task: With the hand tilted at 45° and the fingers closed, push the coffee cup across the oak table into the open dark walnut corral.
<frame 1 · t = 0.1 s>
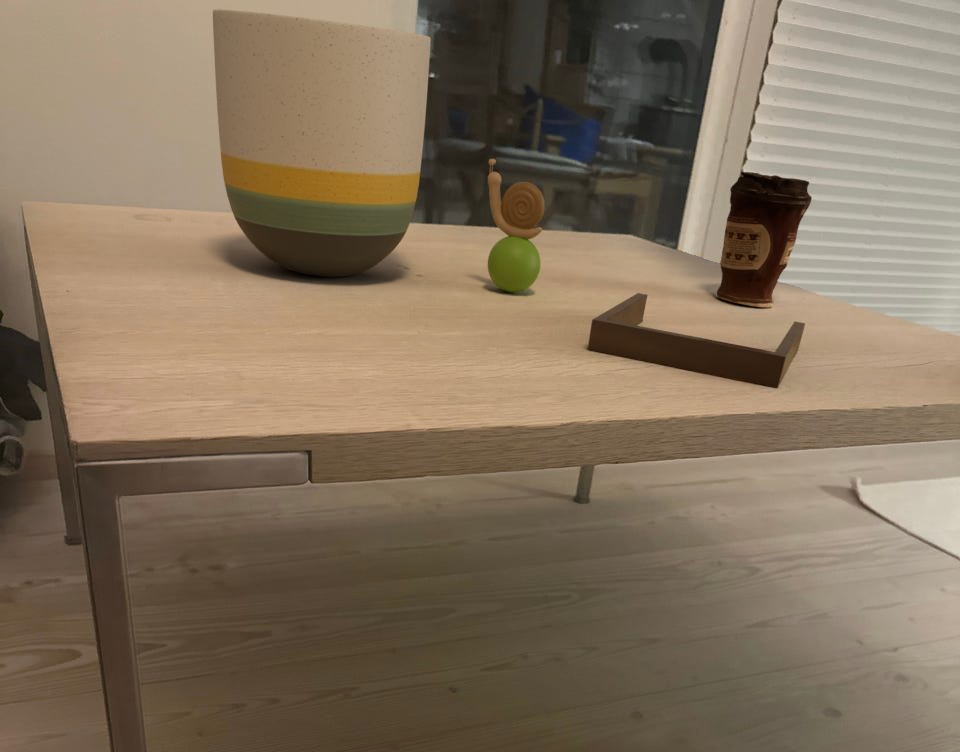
snail figurine: (506, 293, 96), on the table
corral: (698, 349, 82), on the table
planter: (321, 274, 95), on the table
coffee cup: (742, 303, 105), on the table
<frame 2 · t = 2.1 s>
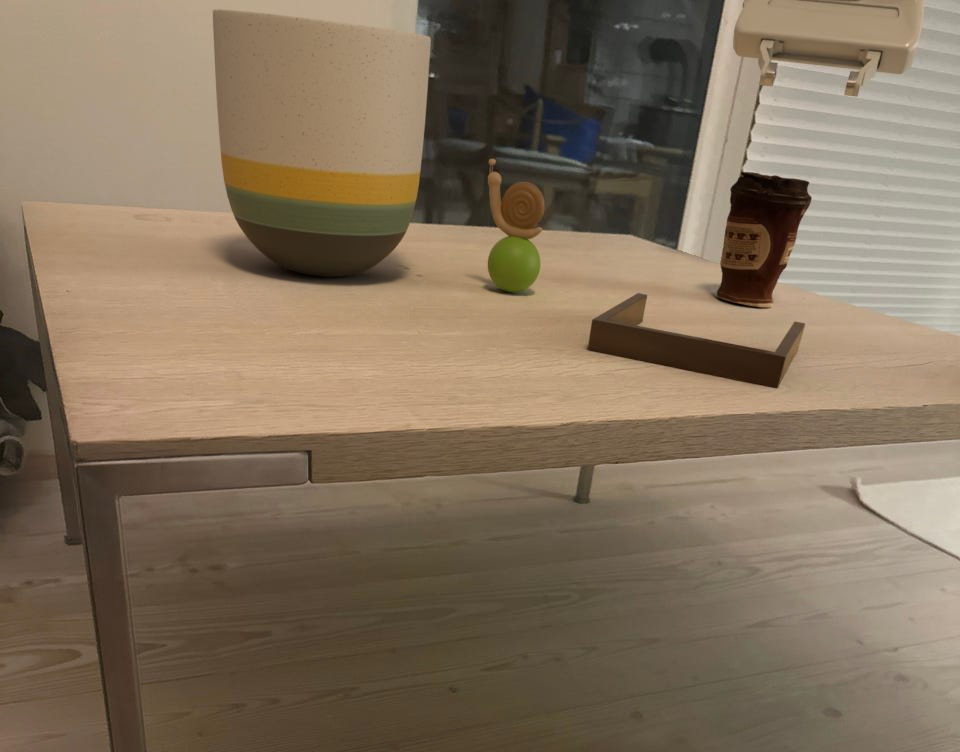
hand: (808, 86, 103), 22 cm above the table, tool tilted 45°, fingers open, 8 cm apart
nothing on the table moved.
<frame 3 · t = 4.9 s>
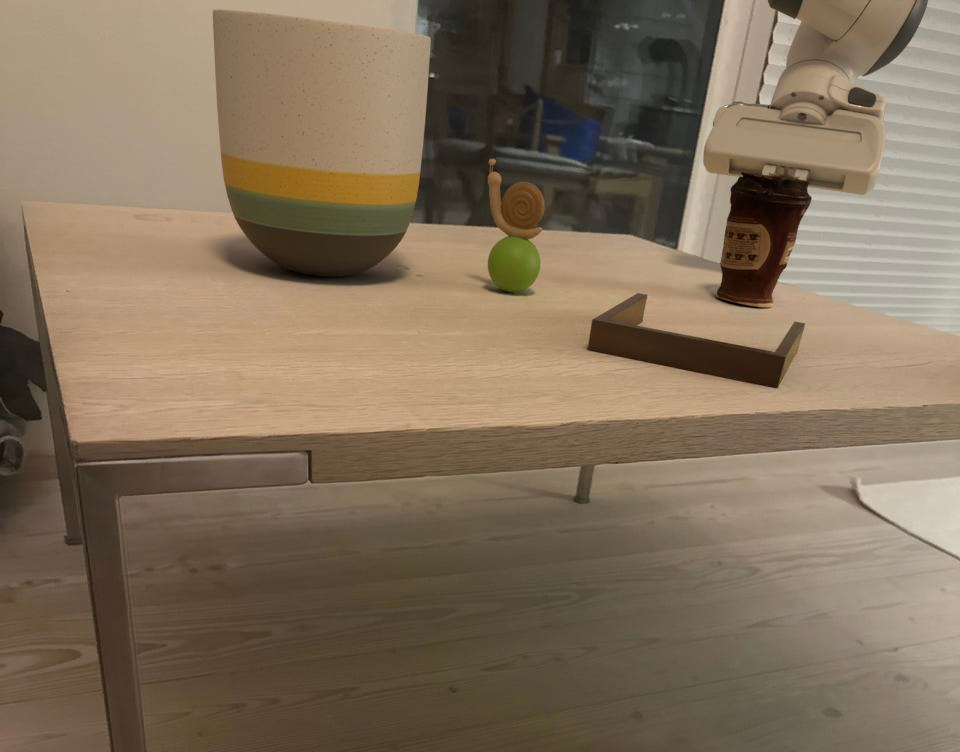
hand: (774, 206, 107), 9 cm above the table, tool tilted 45°, fingers closed
nothing on the table moved.
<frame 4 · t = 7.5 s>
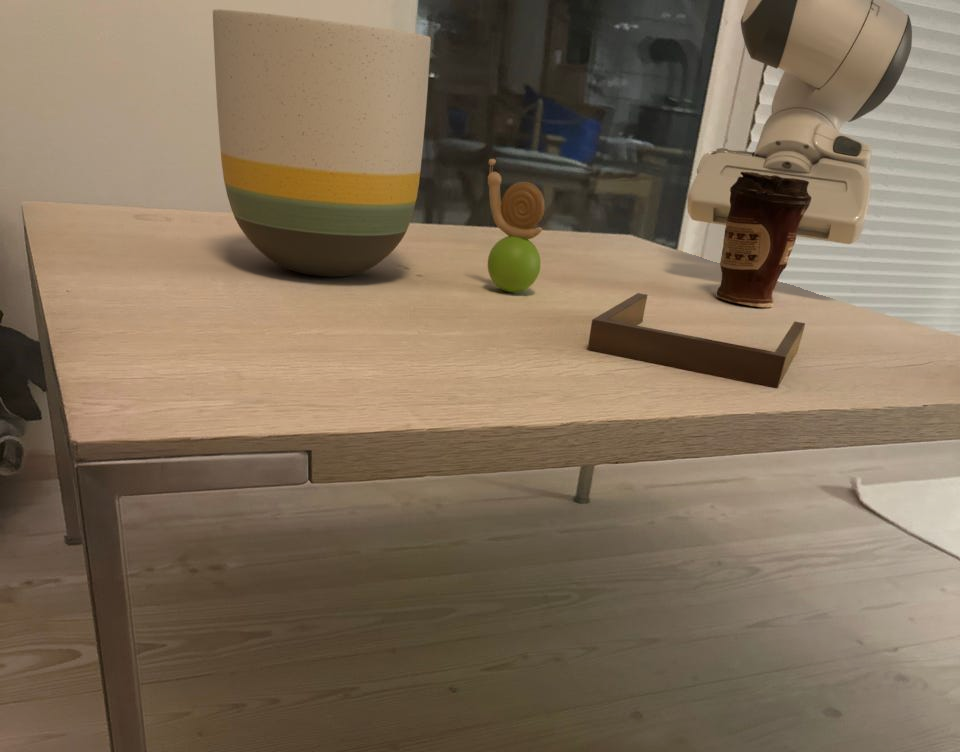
hand: (759, 256, 106), 4 cm above the table, tool tilted 45°, fingers closed, pressing on coffee cup
coffee cup: (742, 303, 105), on the table, touching gripper
everything else where it was.
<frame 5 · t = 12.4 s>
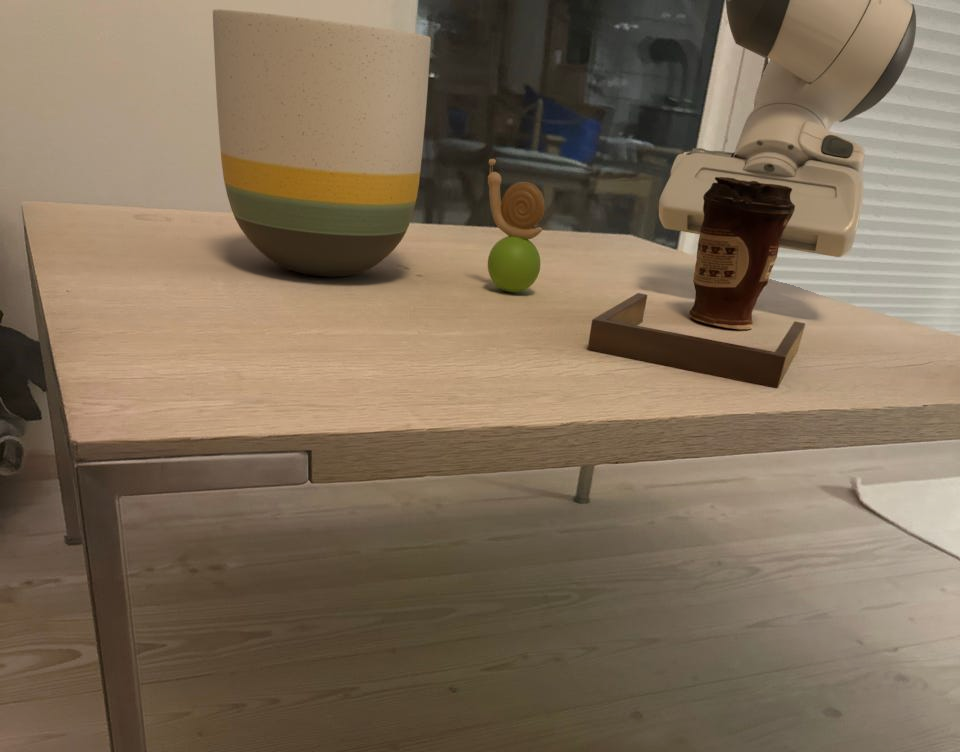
hand: (737, 270, 94), 5 cm above the table, tool tilted 45°, fingers closed, pressing on coffee cup
coffee cup: (719, 325, 93), on the table, touching gripper
everything else where it was.
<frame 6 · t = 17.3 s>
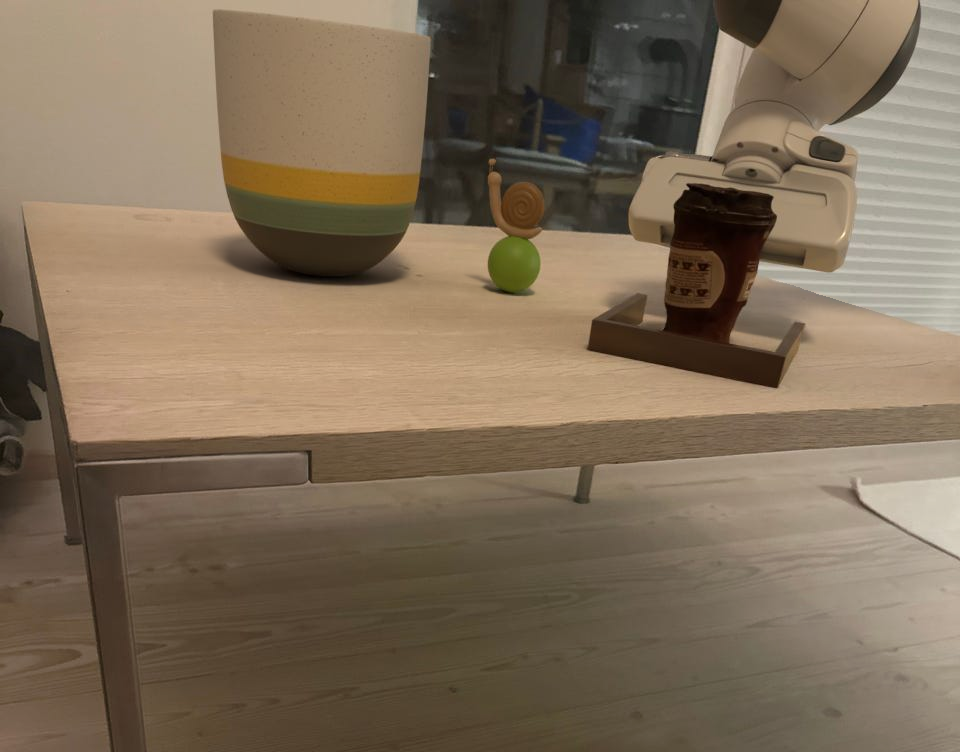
hand: (716, 287, 84), 5 cm above the table, tool tilted 45°, fingers closed
coffee cup: (693, 349, 83), on the table
everything else where it was.
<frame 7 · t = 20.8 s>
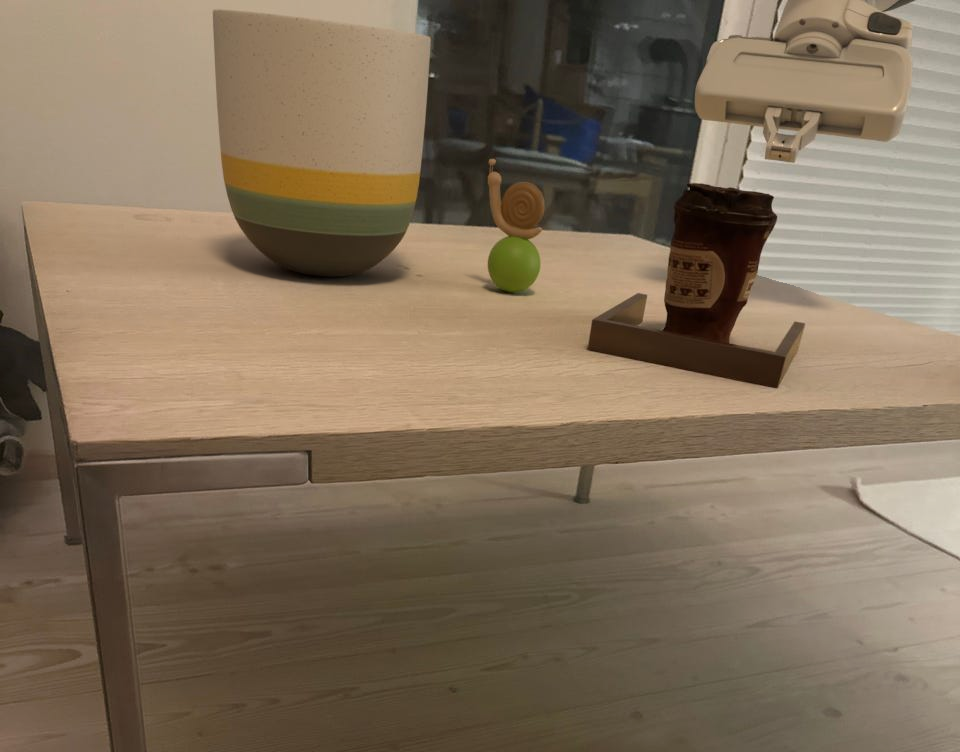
hand: (779, 156, 90), 15 cm above the table, tool tilted 45°, fingers closed
nothing on the table moved.
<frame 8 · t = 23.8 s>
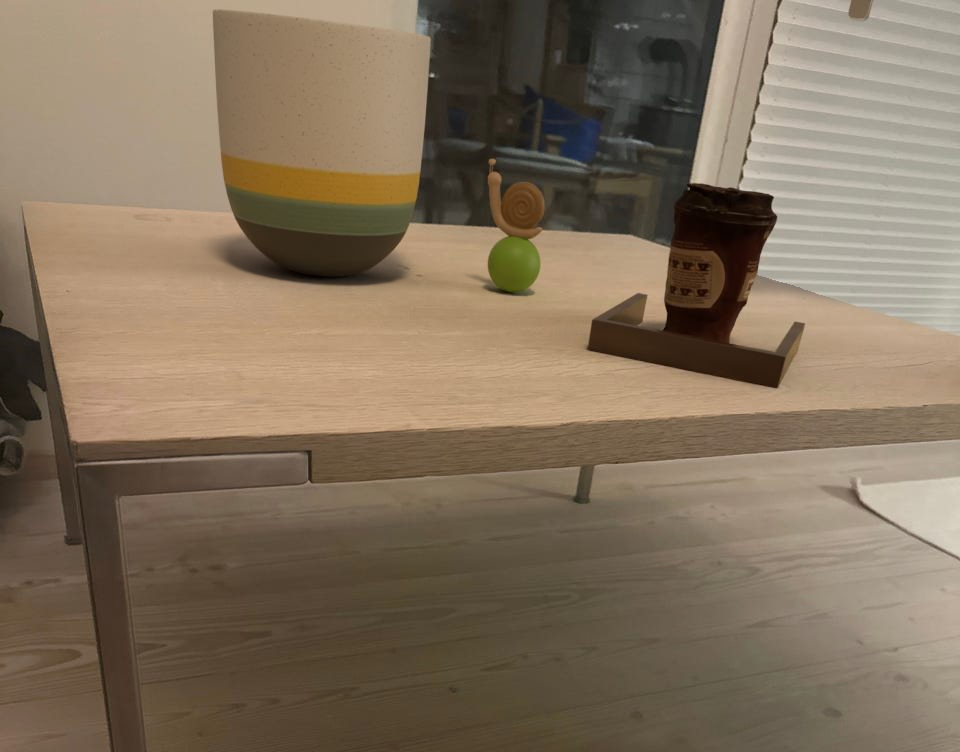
hand: (857, 19, 89), 27 cm above the table, tool pointing down, fingers closed
nothing on the table moved.
at the end: coffee cup inside the target area on the corral (0.9 cm from its centre), point 0.0 cm above the corral's base; coffee cup tilted 0°; coffee cup moved 27.1 cm from its start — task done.
